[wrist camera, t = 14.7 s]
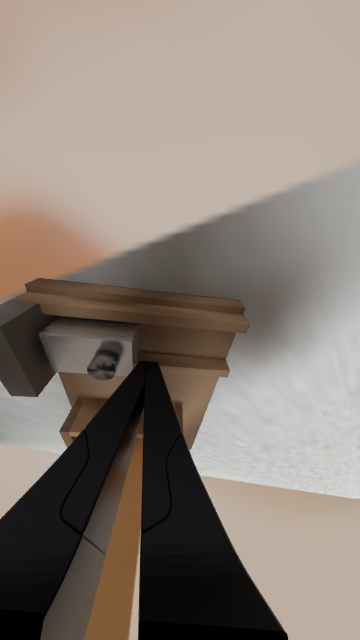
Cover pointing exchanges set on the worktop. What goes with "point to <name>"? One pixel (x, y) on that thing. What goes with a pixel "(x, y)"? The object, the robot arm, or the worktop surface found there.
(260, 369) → the worktop surface
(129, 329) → the bolt
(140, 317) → the housing
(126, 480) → the block
